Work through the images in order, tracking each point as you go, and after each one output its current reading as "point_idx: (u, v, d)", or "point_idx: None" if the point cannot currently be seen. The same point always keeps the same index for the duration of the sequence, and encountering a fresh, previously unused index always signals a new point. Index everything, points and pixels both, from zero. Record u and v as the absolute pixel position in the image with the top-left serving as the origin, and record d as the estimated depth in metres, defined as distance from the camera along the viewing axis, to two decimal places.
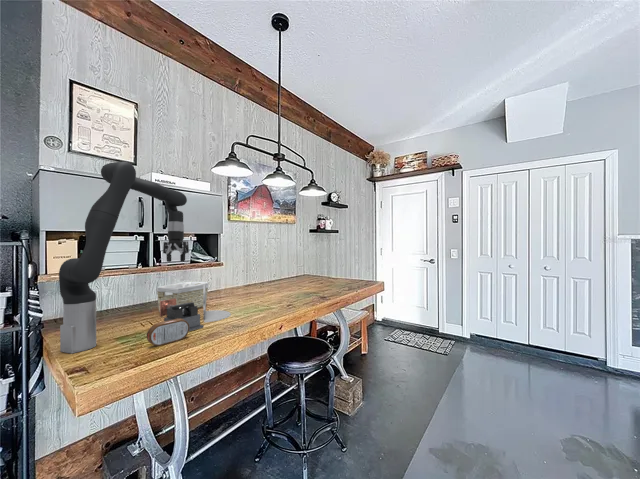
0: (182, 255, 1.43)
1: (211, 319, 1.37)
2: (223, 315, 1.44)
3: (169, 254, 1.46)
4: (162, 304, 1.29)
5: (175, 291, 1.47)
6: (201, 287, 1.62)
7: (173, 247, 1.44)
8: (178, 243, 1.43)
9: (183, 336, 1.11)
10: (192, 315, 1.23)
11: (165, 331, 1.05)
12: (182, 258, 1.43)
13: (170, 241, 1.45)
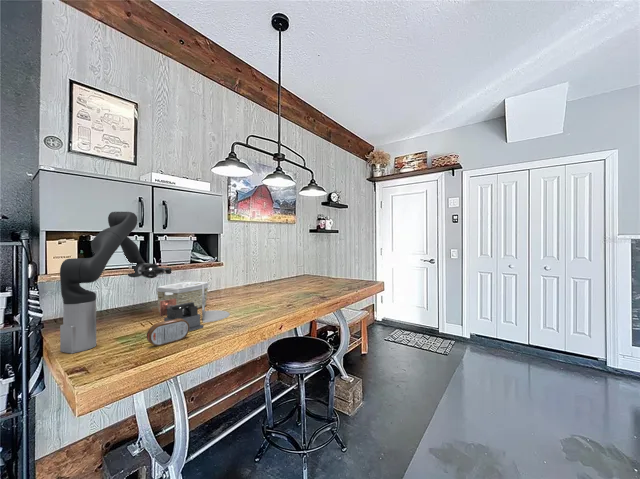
0: (168, 269, 1.40)
1: (210, 319, 1.36)
2: (222, 315, 1.44)
3: None
4: (162, 304, 1.29)
5: (175, 291, 1.47)
6: (201, 287, 1.62)
7: (155, 269, 1.40)
8: None
9: (183, 336, 1.11)
10: (192, 315, 1.23)
11: (165, 331, 1.05)
12: None
13: (147, 269, 1.40)
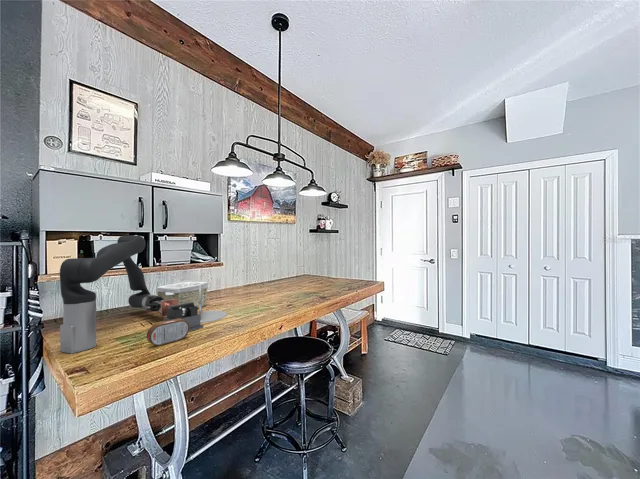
0: None
1: (207, 319, 1.36)
2: (219, 315, 1.43)
3: None
4: (163, 304, 1.28)
5: (176, 291, 1.47)
6: None
7: (160, 302, 1.37)
8: None
9: (183, 336, 1.11)
10: (192, 315, 1.23)
11: (165, 331, 1.05)
12: None
13: (150, 303, 1.36)
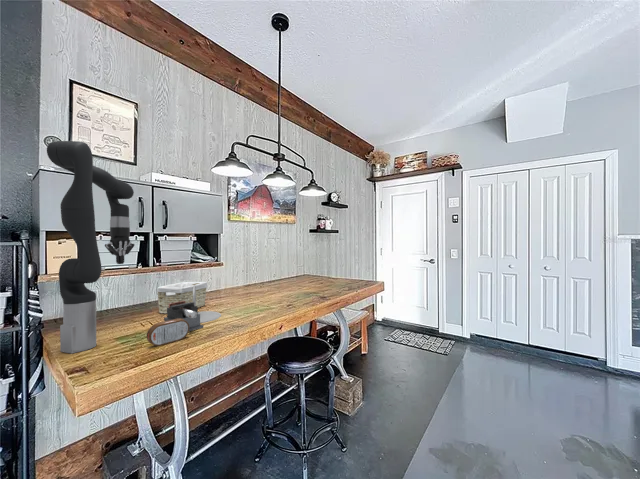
0: (123, 257, 1.30)
1: (201, 320, 1.35)
2: (213, 316, 1.42)
3: None
4: None
5: (179, 291, 1.47)
6: (201, 287, 1.63)
7: (122, 243, 1.29)
8: (127, 243, 1.31)
9: (183, 336, 1.11)
10: None
11: (165, 331, 1.05)
12: (123, 260, 1.30)
13: (114, 238, 1.26)
